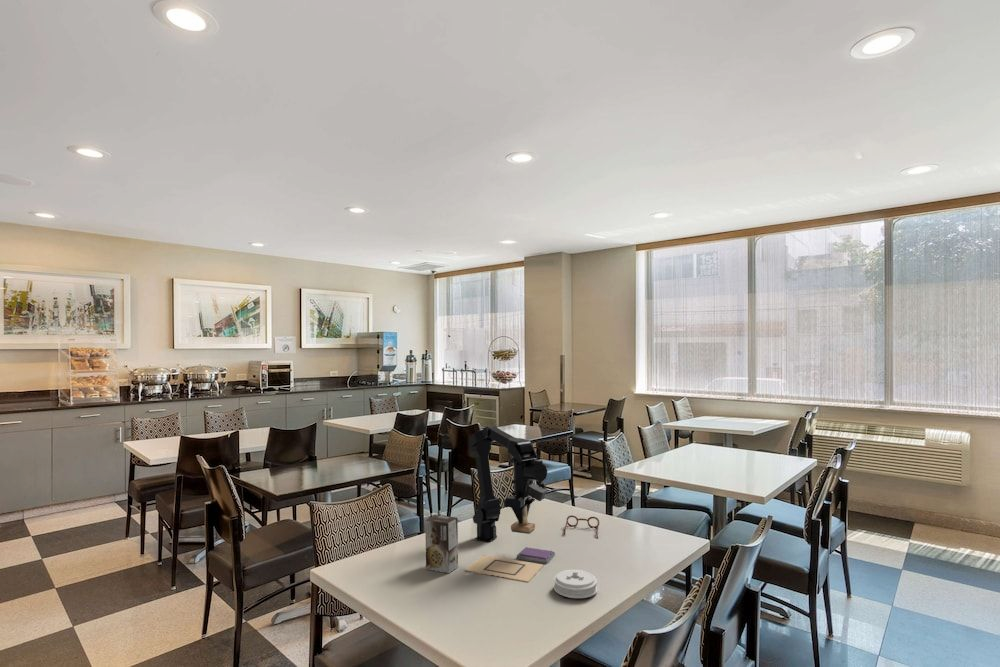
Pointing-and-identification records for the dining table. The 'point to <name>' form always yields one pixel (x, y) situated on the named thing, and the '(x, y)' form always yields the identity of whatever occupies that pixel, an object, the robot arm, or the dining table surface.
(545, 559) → the ink pad
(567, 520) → the glasses
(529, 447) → the robot arm
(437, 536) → the coffee box
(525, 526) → the stamp
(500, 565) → the stamp board
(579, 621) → the dining table surface
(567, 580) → the lid
